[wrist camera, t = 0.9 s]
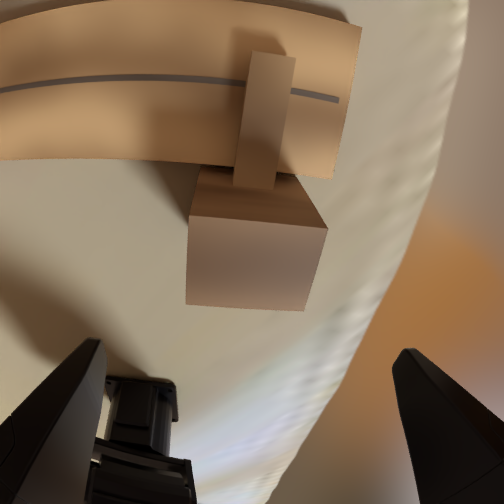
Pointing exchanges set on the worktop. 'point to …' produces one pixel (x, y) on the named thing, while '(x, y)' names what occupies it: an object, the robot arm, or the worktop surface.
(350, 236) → the worktop surface
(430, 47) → the worktop surface
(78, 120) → the plank
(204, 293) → the brown block with bar
